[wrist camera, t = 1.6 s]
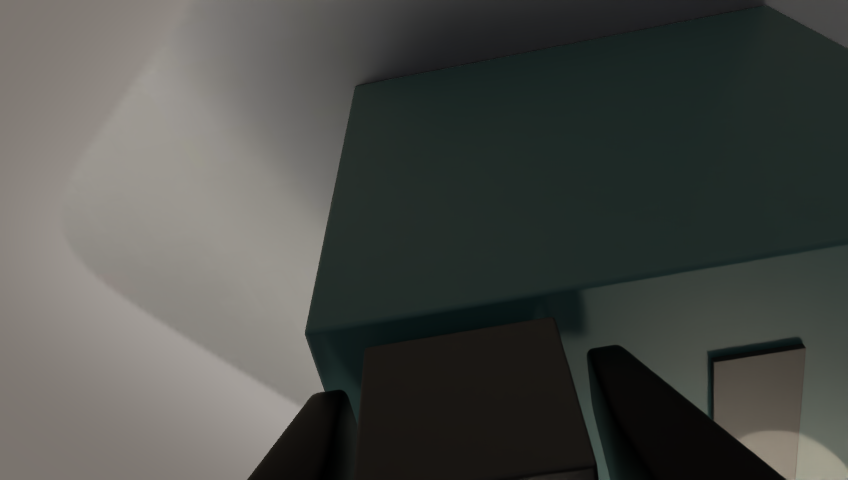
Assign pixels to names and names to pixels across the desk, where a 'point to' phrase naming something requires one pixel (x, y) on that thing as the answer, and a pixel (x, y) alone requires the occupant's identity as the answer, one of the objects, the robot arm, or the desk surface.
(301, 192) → the desk surface
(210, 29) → the desk surface
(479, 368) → the slide button
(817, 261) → the toaster
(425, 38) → the desk surface
